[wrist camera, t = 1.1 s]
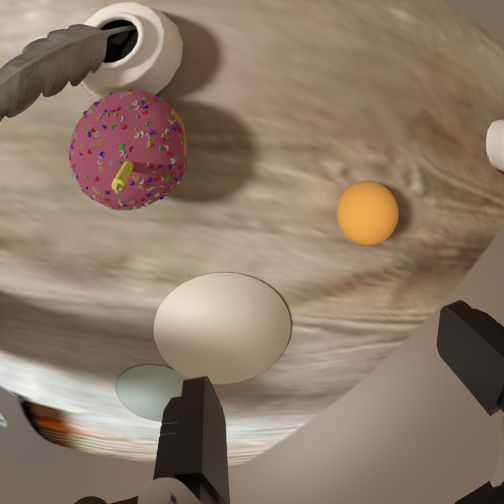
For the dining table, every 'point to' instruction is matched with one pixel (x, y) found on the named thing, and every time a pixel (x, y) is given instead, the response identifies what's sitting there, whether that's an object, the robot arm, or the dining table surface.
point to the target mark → (222, 327)
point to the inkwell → (96, 57)
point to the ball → (367, 213)
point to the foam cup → (496, 144)
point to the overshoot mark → (149, 389)
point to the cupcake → (128, 150)
